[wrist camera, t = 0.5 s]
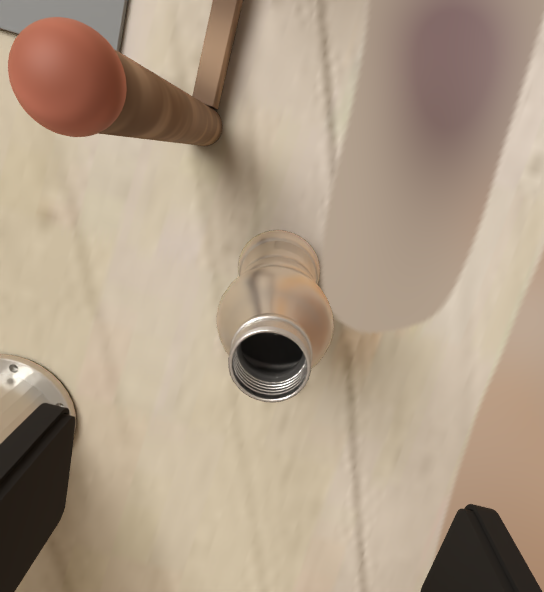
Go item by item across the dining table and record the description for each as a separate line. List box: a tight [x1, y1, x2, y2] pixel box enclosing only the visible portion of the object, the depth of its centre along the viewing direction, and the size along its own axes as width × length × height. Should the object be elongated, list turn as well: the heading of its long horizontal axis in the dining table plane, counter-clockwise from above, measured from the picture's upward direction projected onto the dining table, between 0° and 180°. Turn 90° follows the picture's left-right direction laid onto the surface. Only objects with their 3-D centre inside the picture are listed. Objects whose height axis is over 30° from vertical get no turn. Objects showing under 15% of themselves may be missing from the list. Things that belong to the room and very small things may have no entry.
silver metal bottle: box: [216, 230, 334, 402], centre depth 29 cm, size 6×7×20 cm
